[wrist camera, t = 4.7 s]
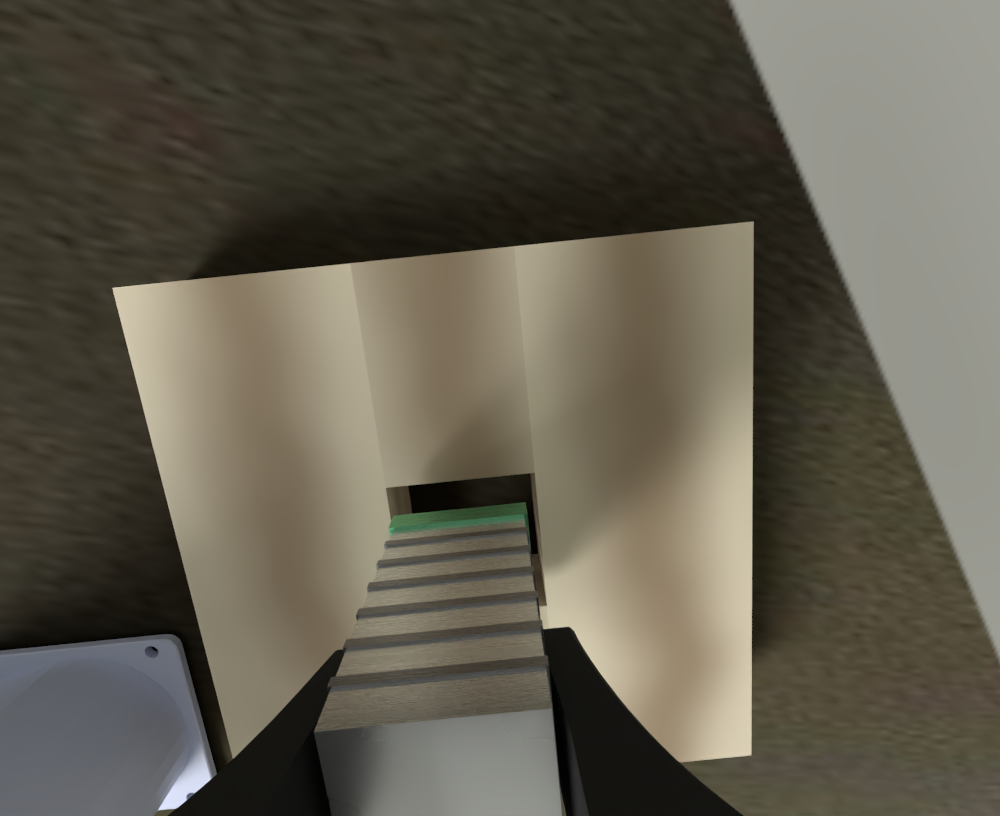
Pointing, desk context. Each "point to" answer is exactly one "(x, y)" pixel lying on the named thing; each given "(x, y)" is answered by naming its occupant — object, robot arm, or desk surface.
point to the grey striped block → (445, 677)
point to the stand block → (469, 453)
